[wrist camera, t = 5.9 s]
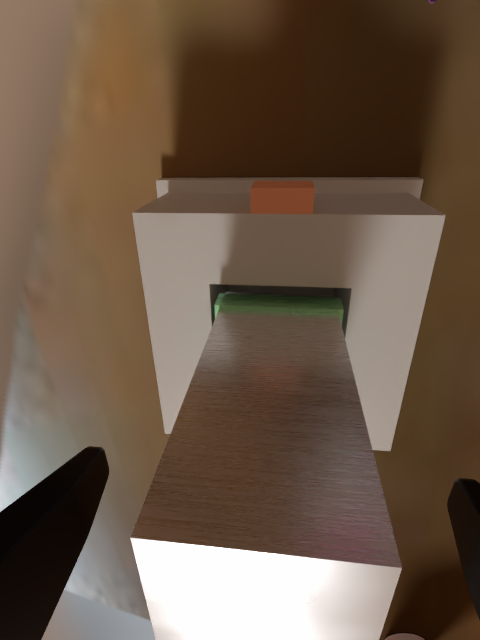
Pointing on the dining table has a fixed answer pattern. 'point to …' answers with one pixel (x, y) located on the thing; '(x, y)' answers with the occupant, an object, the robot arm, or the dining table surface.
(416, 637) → the smoothie
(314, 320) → the column
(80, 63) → the dining table surface
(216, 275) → the stand base
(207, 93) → the dining table surface
